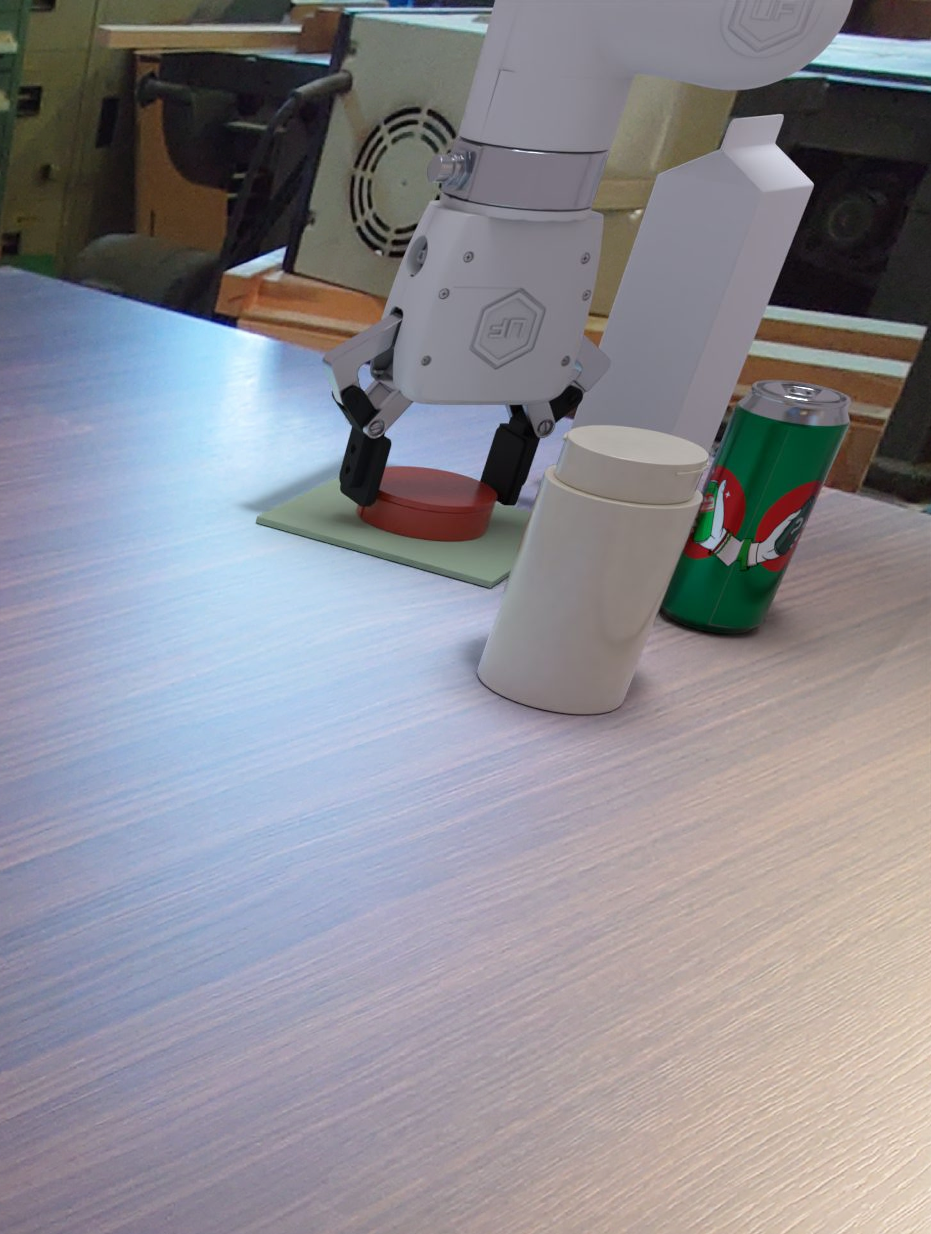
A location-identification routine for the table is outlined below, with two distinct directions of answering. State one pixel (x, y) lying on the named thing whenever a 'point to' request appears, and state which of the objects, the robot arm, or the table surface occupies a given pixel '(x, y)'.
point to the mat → (340, 525)
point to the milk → (698, 286)
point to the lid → (430, 504)
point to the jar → (593, 568)
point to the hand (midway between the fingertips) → (426, 497)
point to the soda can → (756, 504)
